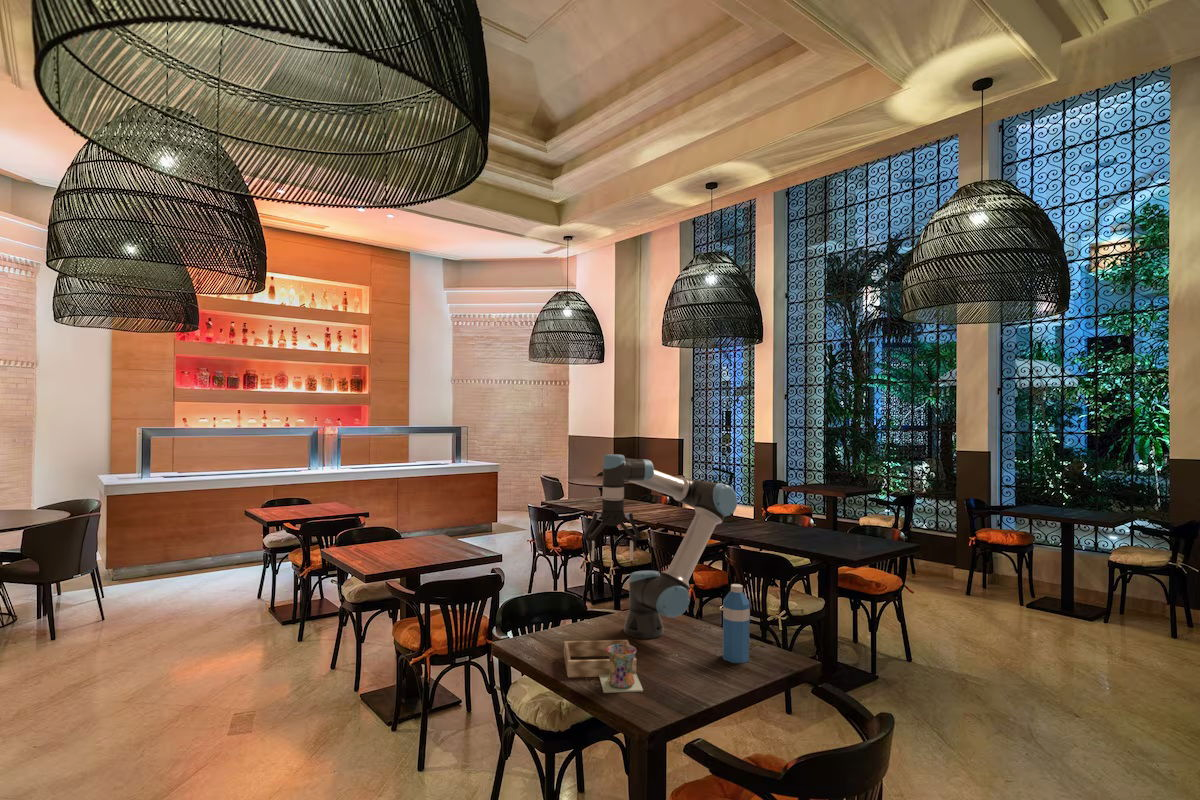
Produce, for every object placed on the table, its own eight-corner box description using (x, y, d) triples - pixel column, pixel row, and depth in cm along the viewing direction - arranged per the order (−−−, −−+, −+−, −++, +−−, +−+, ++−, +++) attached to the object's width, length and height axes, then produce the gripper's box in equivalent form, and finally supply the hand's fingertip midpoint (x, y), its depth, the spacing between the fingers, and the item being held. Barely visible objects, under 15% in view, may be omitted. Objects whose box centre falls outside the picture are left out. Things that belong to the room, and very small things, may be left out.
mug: (640, 688, 196) (640, 653, 196) (611, 691, 193) (611, 656, 193) (627, 673, 207) (627, 639, 208) (599, 675, 205) (600, 642, 205)
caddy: (627, 654, 225) (627, 639, 225) (636, 675, 207) (636, 659, 207) (564, 655, 222) (564, 641, 222) (567, 677, 204) (567, 661, 204)
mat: (636, 675, 207) (636, 673, 207) (643, 691, 195) (643, 689, 195) (599, 676, 206) (599, 674, 206) (603, 692, 194) (603, 691, 194)
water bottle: (718, 659, 221) (719, 586, 222) (726, 651, 230) (727, 580, 230) (745, 665, 217) (746, 590, 217) (752, 656, 225) (753, 584, 226)
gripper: (646, 497, 230) (645, 557, 230) (576, 497, 227) (575, 557, 227) (650, 500, 223) (649, 562, 222) (578, 500, 220) (577, 562, 219)
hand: (612, 560), depth 225 cm, fingers open, 13 cm apart
